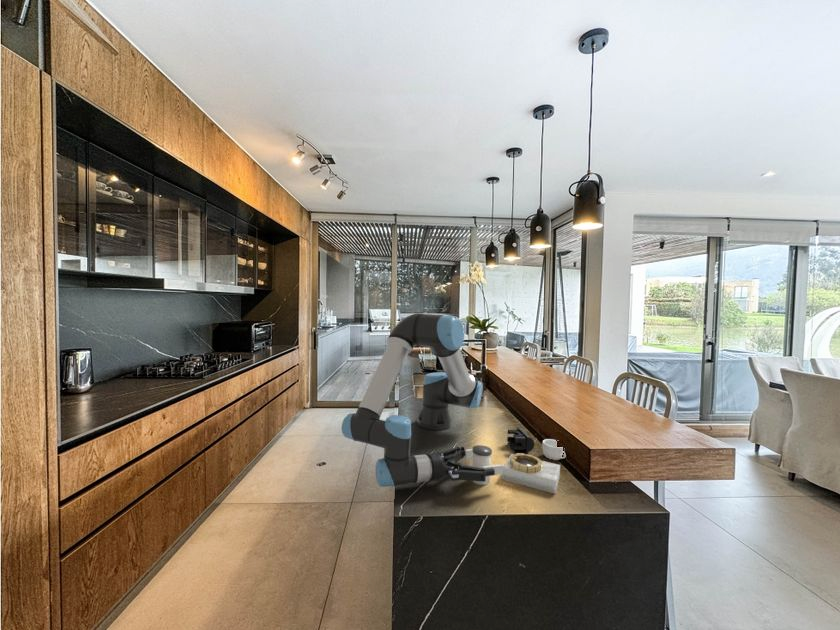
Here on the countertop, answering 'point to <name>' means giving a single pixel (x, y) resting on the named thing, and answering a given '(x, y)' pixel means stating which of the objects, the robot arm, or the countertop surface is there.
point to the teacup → (552, 449)
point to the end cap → (520, 441)
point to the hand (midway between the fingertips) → (492, 460)
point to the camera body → (532, 472)
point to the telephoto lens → (481, 460)
